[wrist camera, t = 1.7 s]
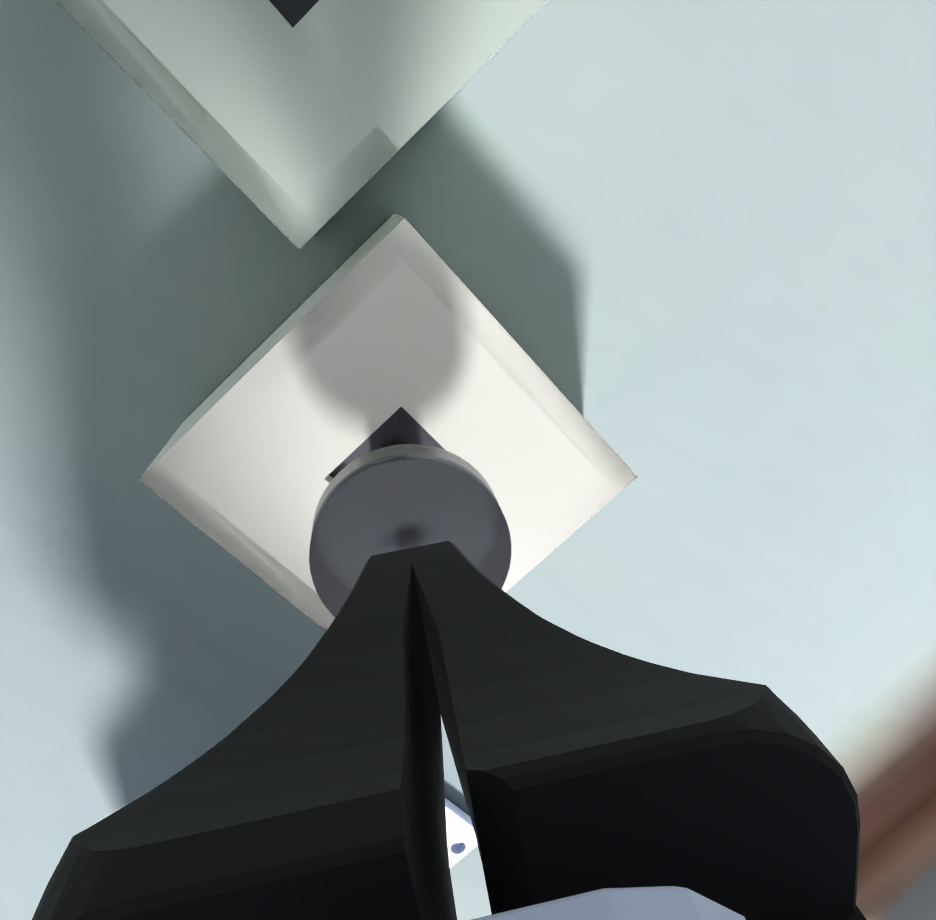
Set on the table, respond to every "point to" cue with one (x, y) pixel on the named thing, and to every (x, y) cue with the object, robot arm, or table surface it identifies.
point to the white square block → (381, 417)
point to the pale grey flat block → (301, 84)
